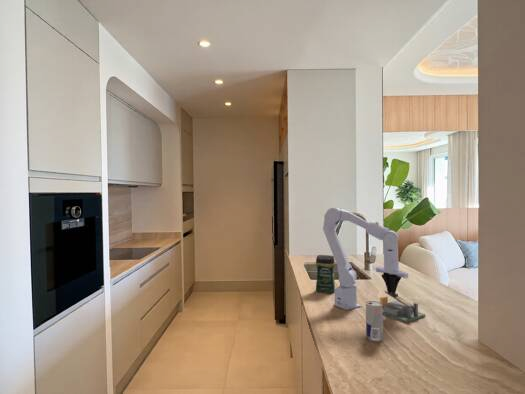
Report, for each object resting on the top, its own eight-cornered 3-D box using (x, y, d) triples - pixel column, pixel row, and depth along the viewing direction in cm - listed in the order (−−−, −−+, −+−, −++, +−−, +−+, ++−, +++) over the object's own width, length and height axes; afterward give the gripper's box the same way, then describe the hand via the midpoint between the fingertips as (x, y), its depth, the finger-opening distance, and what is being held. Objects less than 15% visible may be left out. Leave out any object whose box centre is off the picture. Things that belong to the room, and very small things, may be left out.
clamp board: (406, 322, 121) (406, 308, 121) (372, 310, 135) (372, 297, 135) (425, 316, 127) (425, 302, 127) (391, 305, 141) (391, 292, 141)
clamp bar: (415, 308, 125) (416, 305, 125) (410, 309, 124) (411, 306, 124) (388, 291, 136) (389, 288, 136) (384, 292, 135) (384, 289, 135)
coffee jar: (314, 292, 161) (314, 256, 161) (317, 288, 169) (317, 253, 169) (334, 294, 158) (333, 257, 158) (336, 290, 165) (335, 254, 165)
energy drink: (369, 334, 111) (369, 299, 111) (385, 338, 108) (384, 302, 108) (363, 339, 107) (363, 303, 107) (379, 343, 104) (379, 307, 104)
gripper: (412, 261, 129) (413, 294, 129) (383, 256, 142) (383, 286, 142) (401, 263, 126) (402, 297, 125) (372, 257, 138) (372, 288, 138)
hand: (391, 291), depth 133 cm, fingers closed
